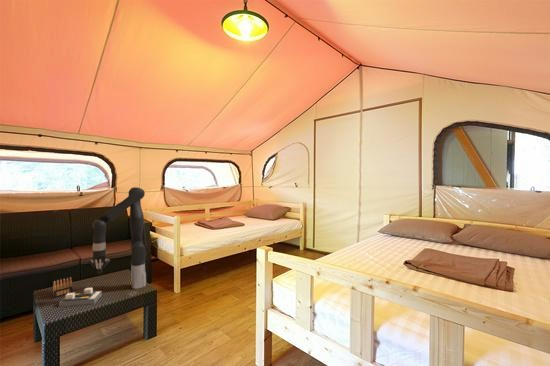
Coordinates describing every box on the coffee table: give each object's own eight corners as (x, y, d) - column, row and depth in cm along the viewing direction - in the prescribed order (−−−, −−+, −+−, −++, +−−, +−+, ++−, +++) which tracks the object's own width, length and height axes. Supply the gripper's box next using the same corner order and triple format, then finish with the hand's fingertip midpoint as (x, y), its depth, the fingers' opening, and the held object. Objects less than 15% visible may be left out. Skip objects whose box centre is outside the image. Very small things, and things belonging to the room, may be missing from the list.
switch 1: (75, 297, 171) (74, 292, 171) (72, 299, 169) (72, 294, 168) (68, 298, 171) (67, 293, 170) (65, 300, 168) (65, 295, 167)
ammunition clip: (53, 298, 176) (52, 281, 176) (52, 297, 177) (52, 280, 177) (72, 293, 184) (72, 276, 184) (72, 292, 185) (71, 275, 185)
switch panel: (101, 295, 182) (101, 289, 182) (94, 303, 170) (94, 297, 170) (69, 297, 177) (68, 292, 177) (58, 306, 166) (58, 300, 165)
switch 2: (92, 292, 179) (92, 287, 179) (90, 294, 176) (90, 289, 176) (86, 292, 178) (86, 287, 178) (84, 294, 175) (83, 289, 175)
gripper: (112, 246, 183) (112, 270, 183) (90, 247, 180) (91, 272, 180) (107, 250, 175) (108, 275, 176) (85, 251, 172) (86, 276, 173)
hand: (99, 273), depth 178 cm, fingers closed
